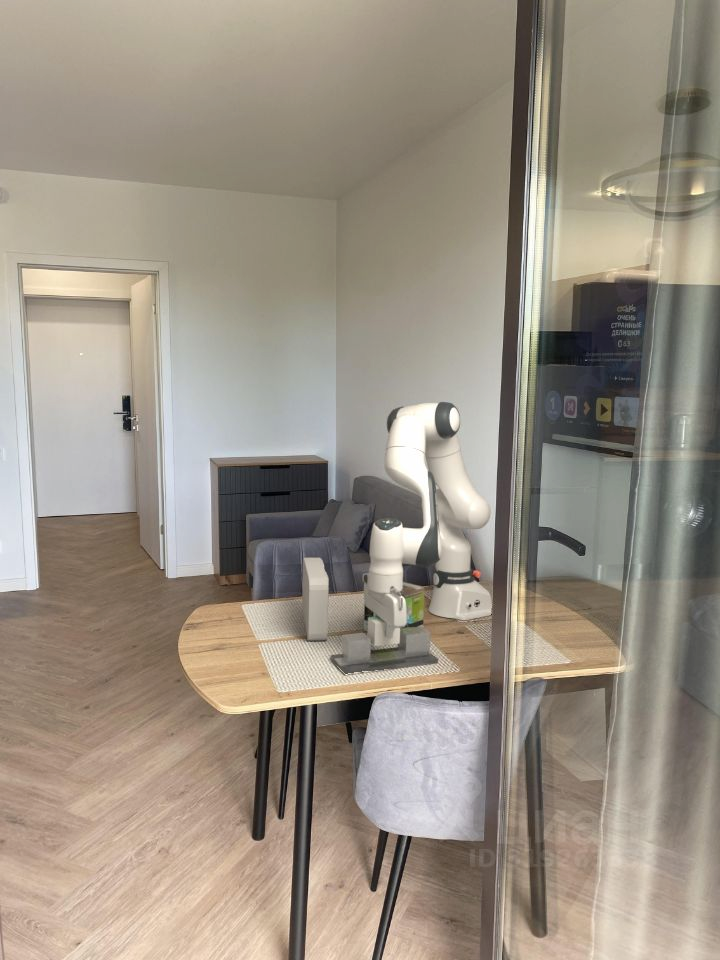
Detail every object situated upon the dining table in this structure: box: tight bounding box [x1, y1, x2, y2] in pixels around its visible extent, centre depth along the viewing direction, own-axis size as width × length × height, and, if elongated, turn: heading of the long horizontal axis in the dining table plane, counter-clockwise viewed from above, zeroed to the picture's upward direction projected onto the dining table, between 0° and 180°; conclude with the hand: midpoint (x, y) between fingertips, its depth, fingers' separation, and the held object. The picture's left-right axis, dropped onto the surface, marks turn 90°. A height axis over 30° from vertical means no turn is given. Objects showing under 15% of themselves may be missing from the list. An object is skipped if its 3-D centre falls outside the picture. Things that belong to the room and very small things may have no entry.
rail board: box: [329, 625, 439, 674], centre depth 192 cm, size 26×11×8 cm, turn 111°
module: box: [367, 616, 400, 647], centre depth 192 cm, size 7×5×6 cm
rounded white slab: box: [301, 557, 330, 642], centre depth 218 cm, size 29×8×18 cm, turn 8°
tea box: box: [363, 581, 425, 633], centre depth 213 cm, size 15×10×15 cm
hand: (383, 633), depth 192 cm, fingers closed on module, 5 cm apart
